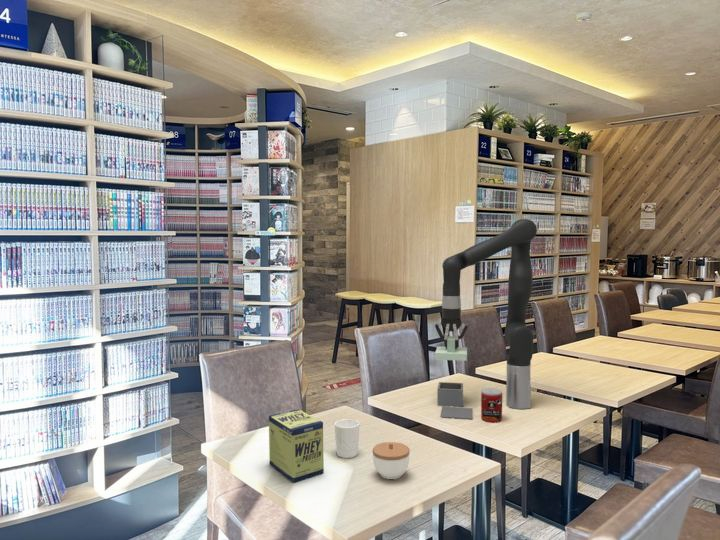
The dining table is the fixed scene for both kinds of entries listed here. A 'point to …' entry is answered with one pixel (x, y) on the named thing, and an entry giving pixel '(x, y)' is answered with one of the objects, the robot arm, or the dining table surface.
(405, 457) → the lidded jar
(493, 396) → the canned food
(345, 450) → the white cup
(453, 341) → the lid
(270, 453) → the protein box
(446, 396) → the tub
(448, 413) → the mat
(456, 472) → the dining table surface
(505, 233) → the robot arm
